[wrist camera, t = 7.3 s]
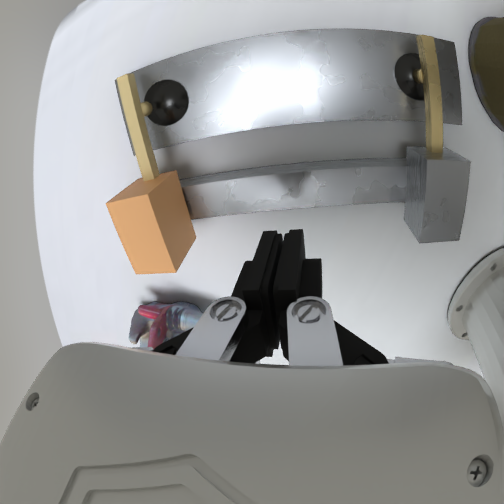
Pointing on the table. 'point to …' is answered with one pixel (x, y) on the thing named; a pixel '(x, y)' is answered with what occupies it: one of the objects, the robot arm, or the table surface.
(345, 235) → the table surface
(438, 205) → the fixed leg
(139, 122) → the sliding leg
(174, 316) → the brake caliper
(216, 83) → the strip
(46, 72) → the table surface
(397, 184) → the rail
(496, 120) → the canister
